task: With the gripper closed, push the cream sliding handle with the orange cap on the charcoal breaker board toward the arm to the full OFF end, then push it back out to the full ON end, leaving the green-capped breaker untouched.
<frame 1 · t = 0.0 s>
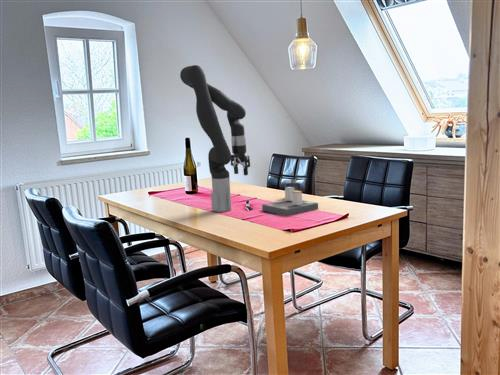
hand: (241, 174, 257), 17 cm above the table, tool pointing down, fingers open, 8 cm apart
tripped breaker: (297, 197, 240), point 7 cm above the table, slide at 5.0 cm
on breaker: (289, 193, 252), point 7 cm above the table, slide at 10.0 cm
flask: (293, 198, 276), on the table
breaker panel: (290, 209, 246), on the table
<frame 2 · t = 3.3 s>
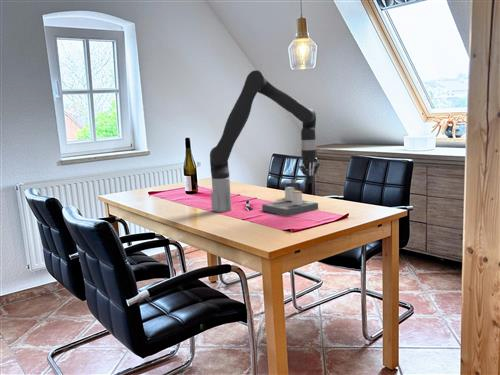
hand: (309, 182, 245), 13 cm above the table, tool pointing down, fingers closed
nothing on the table moved.
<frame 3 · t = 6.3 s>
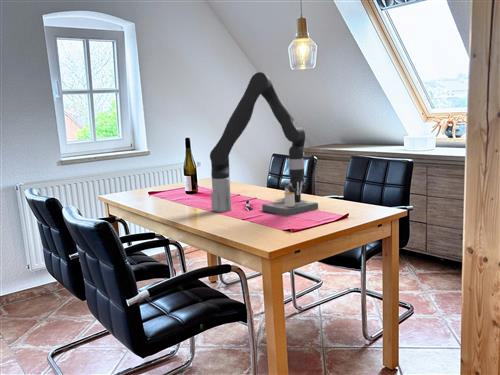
hand: (297, 202, 241), 4 cm above the table, tool pointing down, fingers closed
tripped breaker: (289, 199, 238), point 7 cm above the table, slide at 0.1 cm, touching hand
everything else where it was.
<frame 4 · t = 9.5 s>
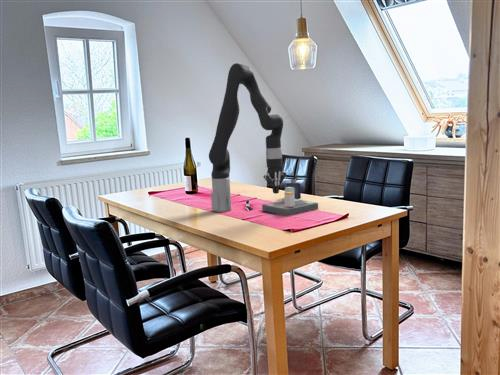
hand: (276, 193, 232), 11 cm above the table, tool pointing down, fingers closed
tripped breaker: (289, 199, 237), point 7 cm above the table, slide at 0.0 cm
everything else where it was.
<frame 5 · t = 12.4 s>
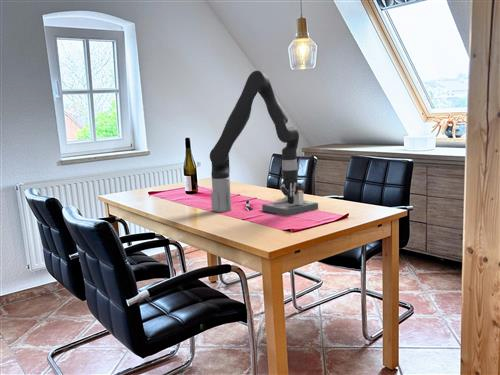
hand: (291, 203, 238), 5 cm above the table, tool pointing down, fingers closed
tripped breaker: (298, 197, 241), point 7 cm above the table, slide at 6.0 cm, touching hand
everything else where it was.
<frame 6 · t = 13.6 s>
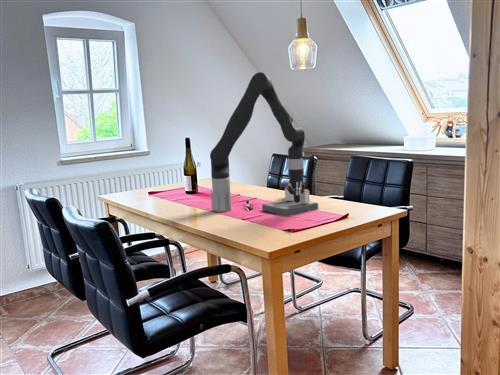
hand: (297, 202, 240), 5 cm above the table, tool pointing down, fingers closed
tripped breaker: (304, 196, 243), point 7 cm above the table, slide at 10.0 cm, touching hand
everything else where it was.
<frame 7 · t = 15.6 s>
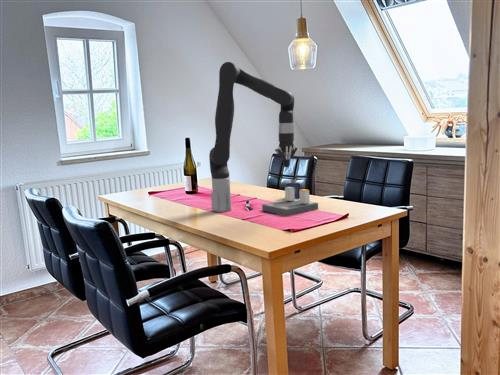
hand: (286, 166, 242), 22 cm above the table, tool pointing down, fingers closed
tripped breaker: (304, 196, 243), point 7 cm above the table, slide at 10.0 cm
everything else where it was.
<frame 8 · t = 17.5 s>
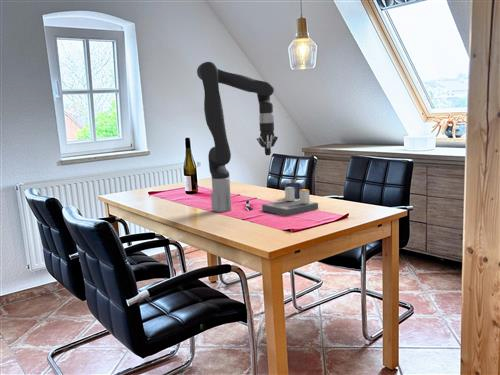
hand: (268, 155, 254), 27 cm above the table, tool pointing down, fingers closed
nothing on the table moved.
at the end: tripped breaker slide at 10.0 cm; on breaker slide at 10.0 cm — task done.
